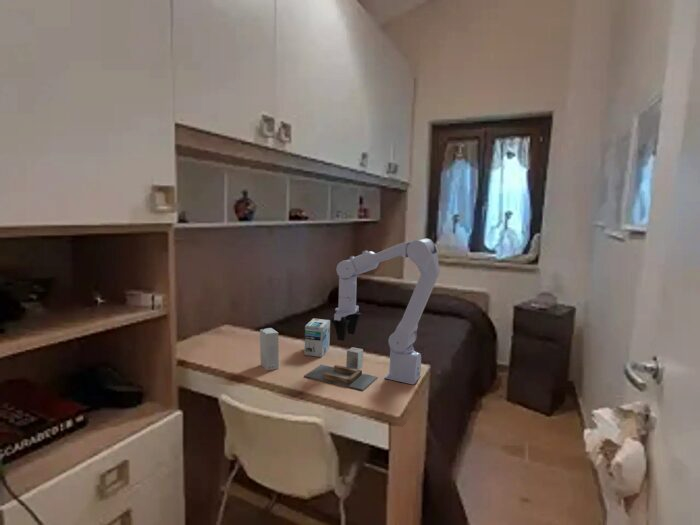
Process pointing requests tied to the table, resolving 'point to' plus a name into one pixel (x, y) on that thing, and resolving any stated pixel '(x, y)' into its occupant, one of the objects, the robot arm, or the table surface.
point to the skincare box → (269, 349)
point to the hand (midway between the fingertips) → (346, 336)
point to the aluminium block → (354, 358)
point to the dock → (342, 376)
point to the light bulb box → (317, 337)
